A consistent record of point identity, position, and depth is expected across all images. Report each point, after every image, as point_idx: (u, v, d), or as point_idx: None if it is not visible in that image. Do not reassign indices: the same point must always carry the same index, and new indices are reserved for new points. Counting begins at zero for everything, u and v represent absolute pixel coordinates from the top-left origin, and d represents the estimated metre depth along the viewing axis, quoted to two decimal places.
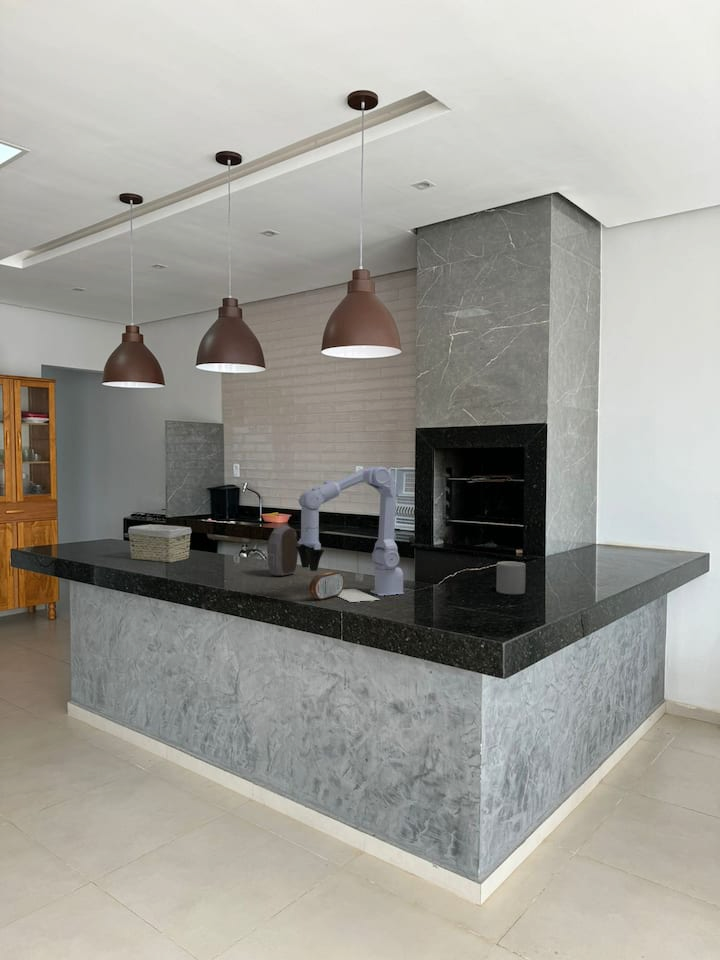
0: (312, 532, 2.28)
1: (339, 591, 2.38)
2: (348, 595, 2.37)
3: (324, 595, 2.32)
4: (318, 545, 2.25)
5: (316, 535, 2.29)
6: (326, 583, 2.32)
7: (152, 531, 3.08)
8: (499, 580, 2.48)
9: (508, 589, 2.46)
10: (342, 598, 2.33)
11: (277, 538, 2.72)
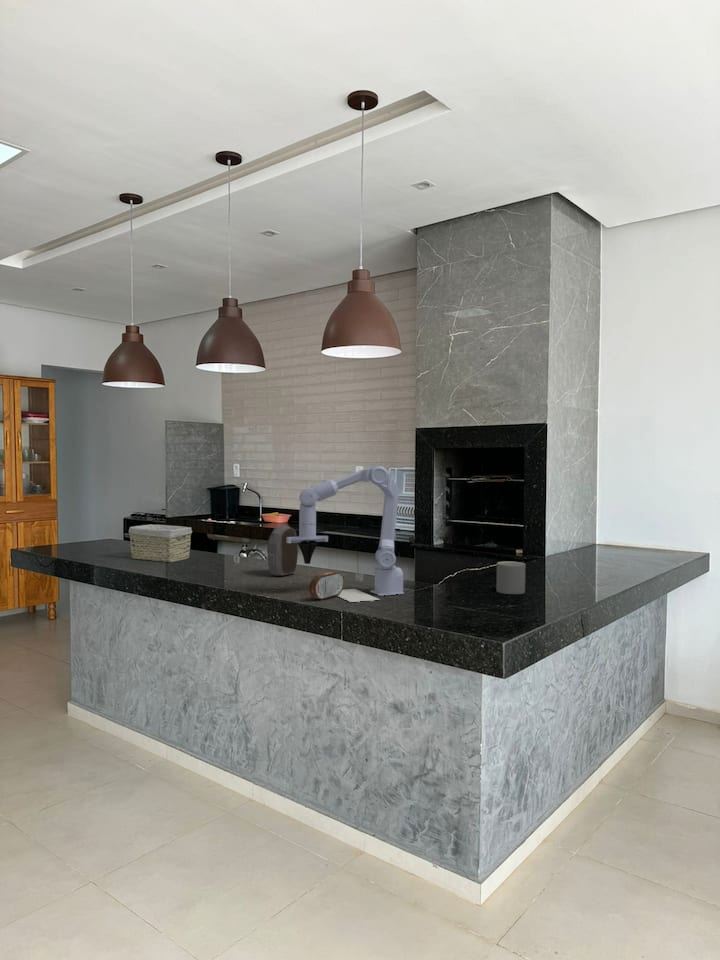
0: (299, 527, 2.40)
1: (339, 591, 2.38)
2: (348, 595, 2.37)
3: (324, 595, 2.32)
4: (287, 539, 2.38)
5: (302, 531, 2.39)
6: (326, 583, 2.32)
7: (153, 531, 3.08)
8: (499, 580, 2.48)
9: (508, 589, 2.46)
10: (342, 598, 2.33)
11: (277, 538, 2.72)
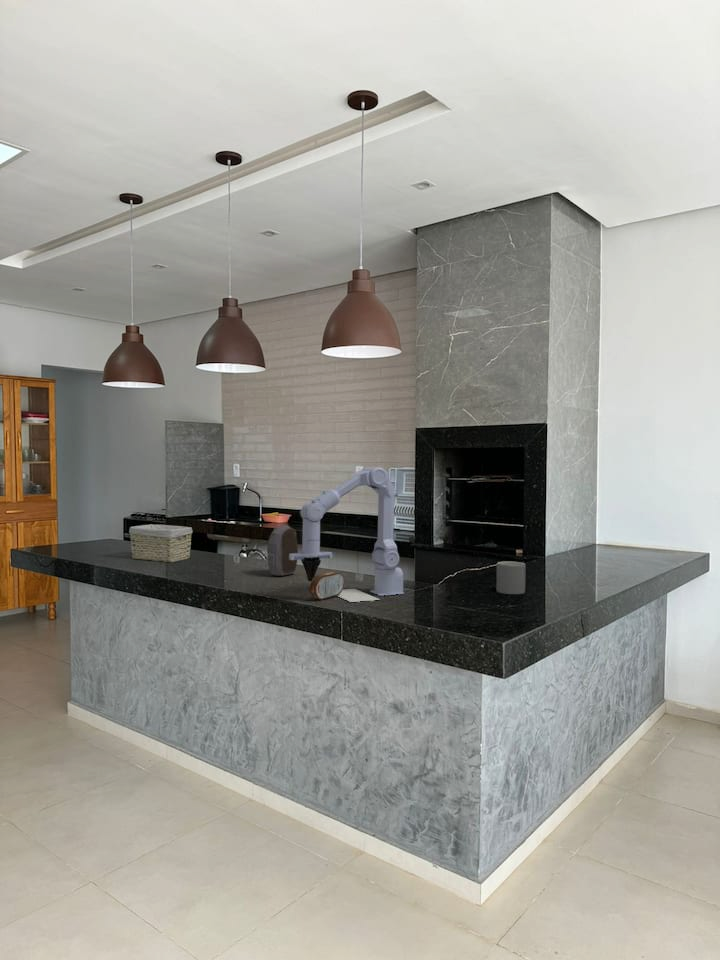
0: (302, 543, 2.30)
1: (339, 591, 2.37)
2: (348, 595, 2.37)
3: (324, 595, 2.32)
4: (290, 555, 2.28)
5: (305, 547, 2.29)
6: (326, 584, 2.32)
7: (153, 531, 3.09)
8: (499, 580, 2.48)
9: (508, 589, 2.46)
10: (342, 598, 2.33)
11: (277, 538, 2.72)
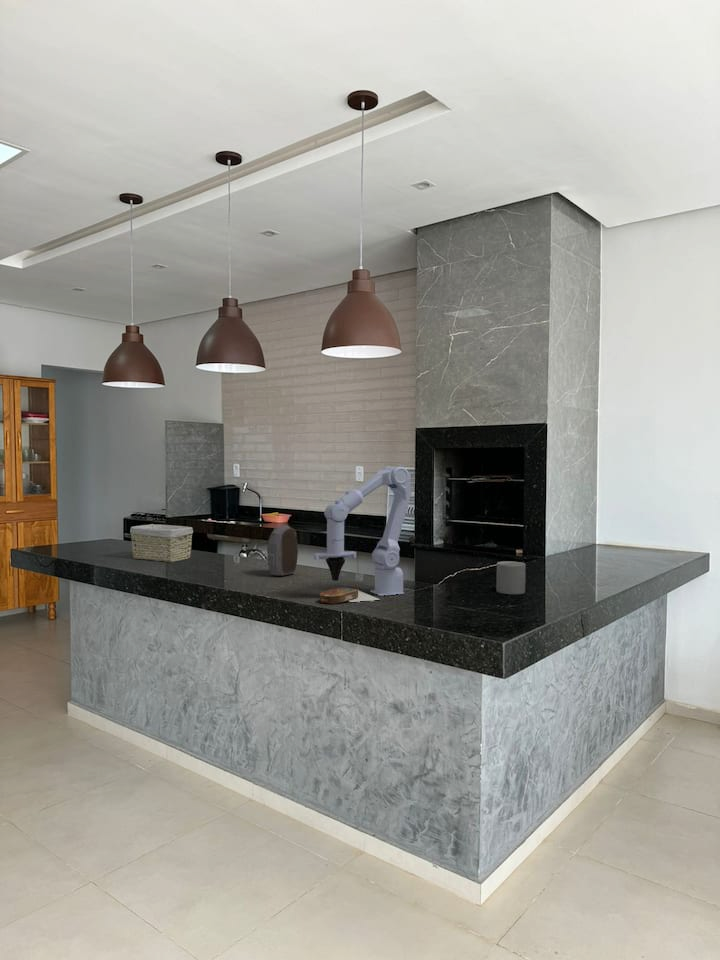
0: (327, 543, 2.34)
1: None
2: None
3: None
4: (315, 555, 2.32)
5: (330, 547, 2.33)
6: None
7: (154, 531, 3.09)
8: (499, 580, 2.48)
9: (508, 589, 2.46)
10: None
11: (277, 538, 2.72)
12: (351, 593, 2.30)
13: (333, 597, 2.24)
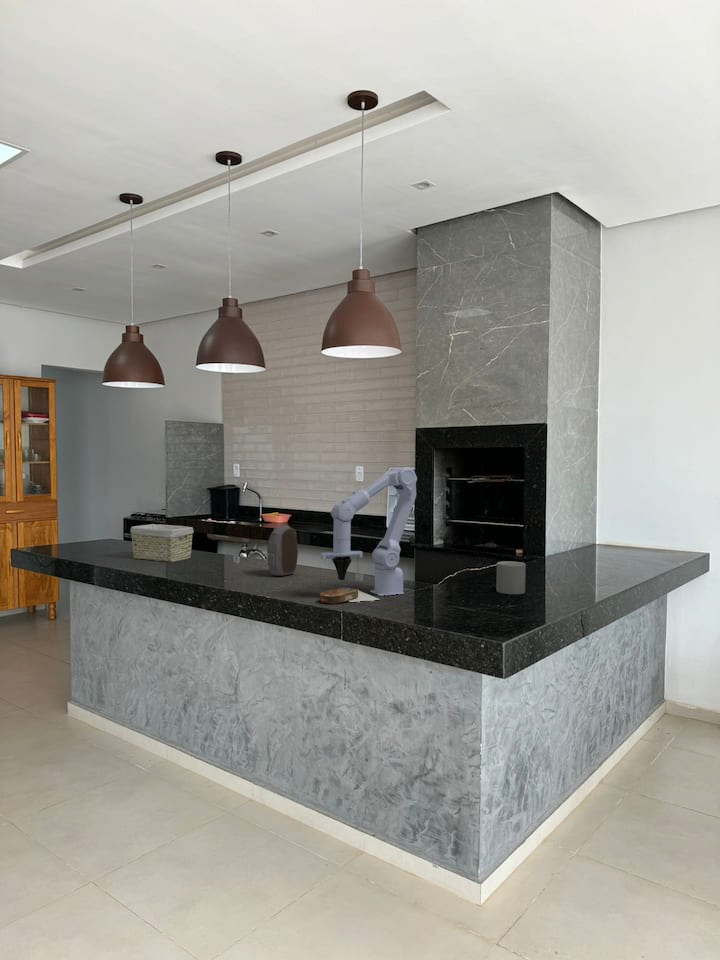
0: (333, 543, 2.35)
1: None
2: None
3: None
4: (321, 555, 2.33)
5: (336, 546, 2.34)
6: None
7: (154, 531, 3.09)
8: (499, 580, 2.48)
9: (508, 589, 2.46)
10: None
11: (276, 538, 2.72)
12: (351, 593, 2.30)
13: (333, 597, 2.24)
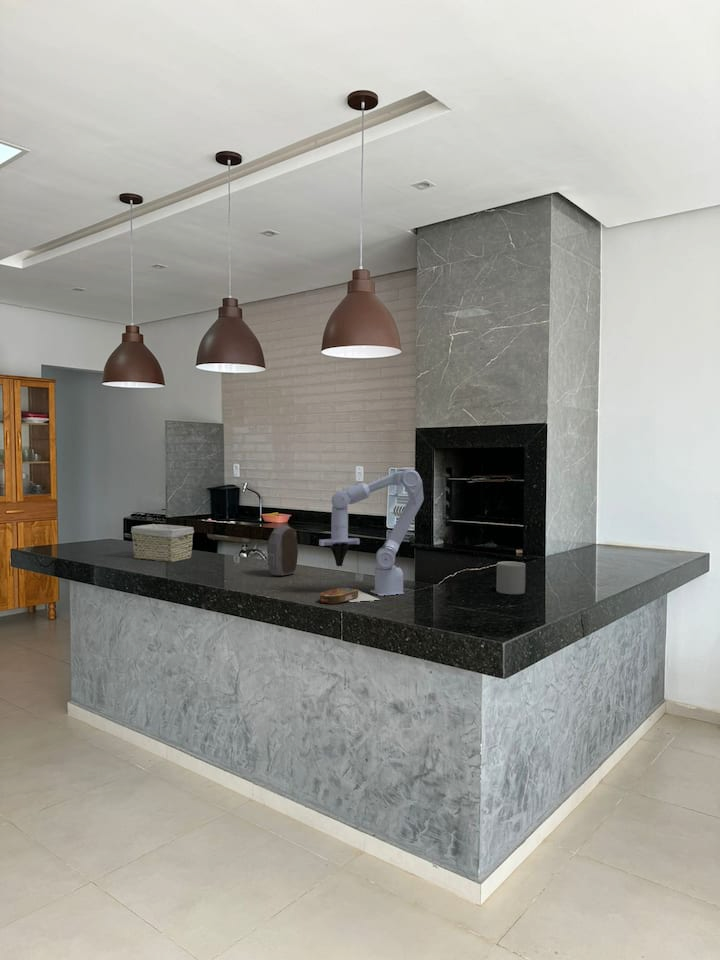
0: (331, 530, 2.42)
1: None
2: None
3: None
4: (320, 541, 2.40)
5: (334, 533, 2.41)
6: None
7: (154, 531, 3.10)
8: (499, 580, 2.48)
9: (508, 589, 2.46)
10: None
11: (276, 538, 2.72)
12: (351, 593, 2.30)
13: (333, 597, 2.24)
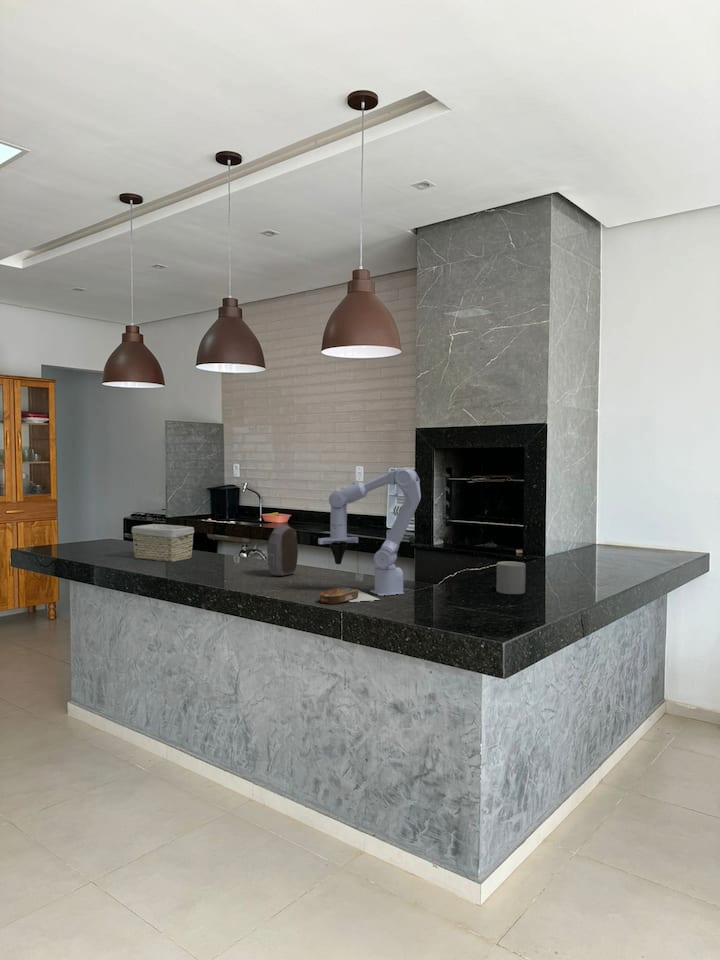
0: (330, 529, 2.46)
1: None
2: None
3: None
4: (319, 540, 2.44)
5: (333, 532, 2.45)
6: None
7: (155, 531, 3.10)
8: (499, 580, 2.48)
9: (508, 589, 2.46)
10: None
11: (277, 538, 2.72)
12: (351, 593, 2.30)
13: (333, 597, 2.24)
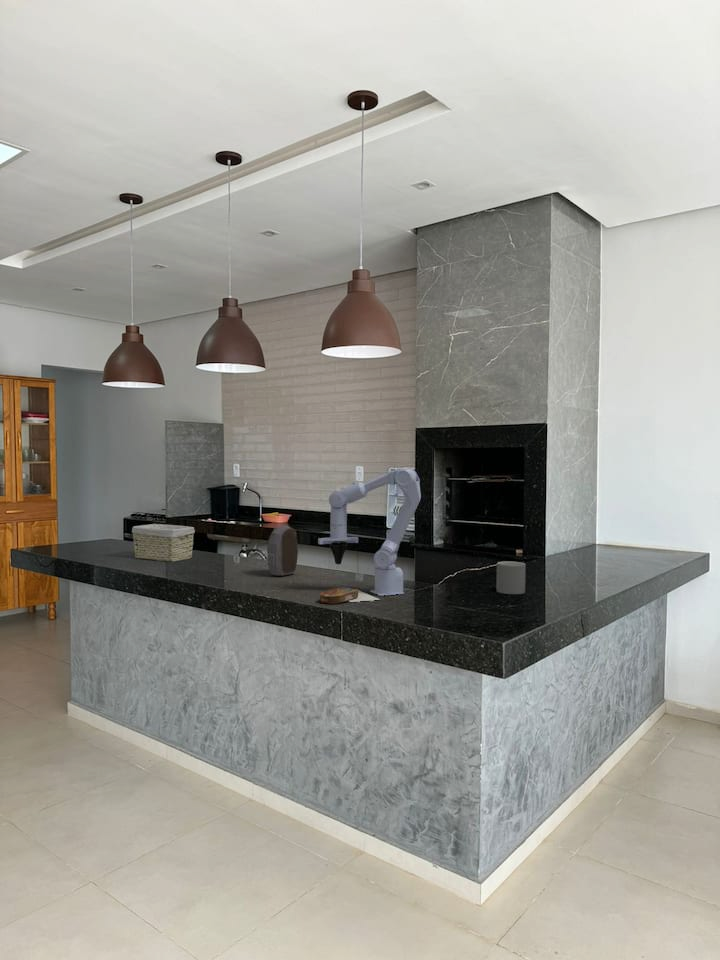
0: (330, 529, 2.46)
1: None
2: None
3: None
4: (319, 540, 2.44)
5: (333, 532, 2.45)
6: None
7: (155, 530, 3.10)
8: (499, 580, 2.48)
9: (508, 589, 2.46)
10: None
11: (277, 538, 2.72)
12: (351, 593, 2.30)
13: (333, 597, 2.24)
